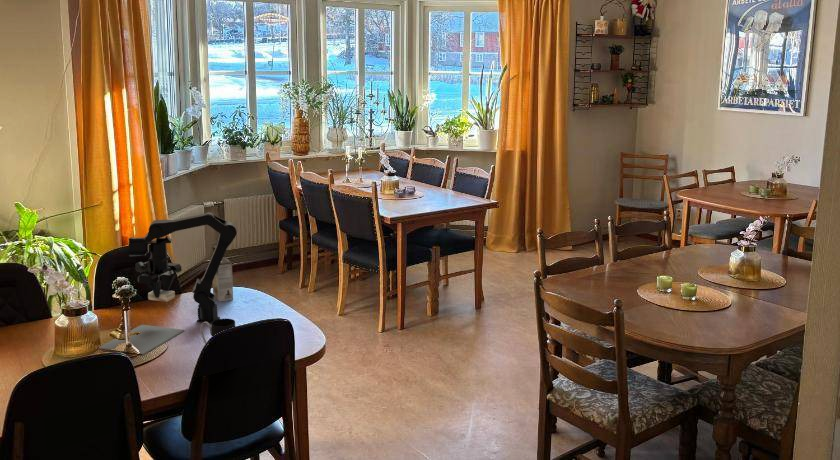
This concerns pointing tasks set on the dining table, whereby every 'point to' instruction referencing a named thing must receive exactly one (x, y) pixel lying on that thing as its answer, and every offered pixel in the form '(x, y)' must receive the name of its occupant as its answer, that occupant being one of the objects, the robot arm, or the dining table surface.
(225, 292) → the coffee box
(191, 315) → the dining table surface
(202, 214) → the robot arm
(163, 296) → the framed mirror
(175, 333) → the grey rectangular board
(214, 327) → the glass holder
